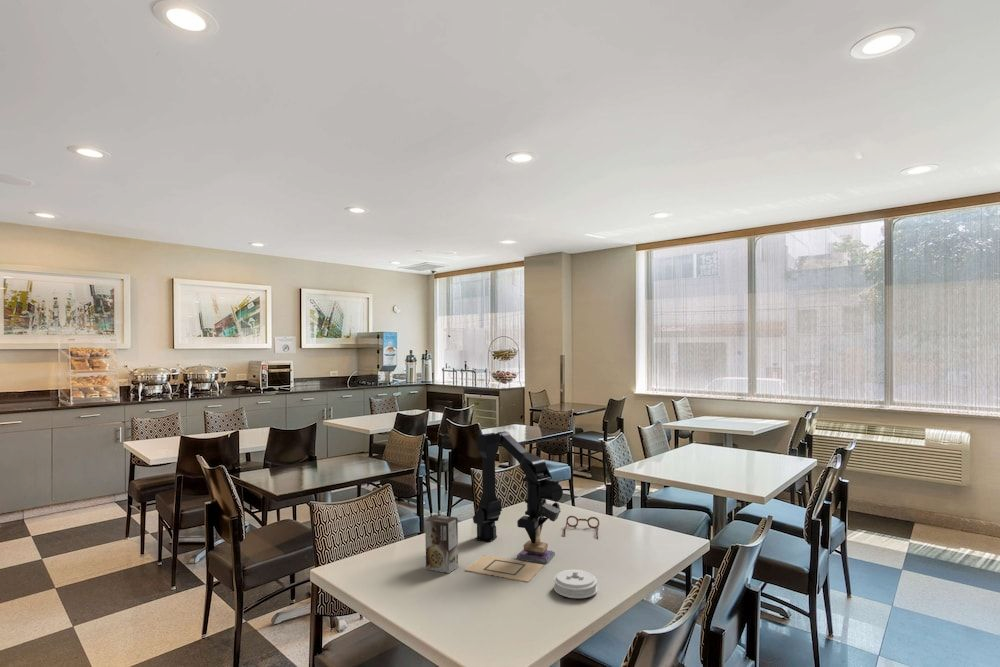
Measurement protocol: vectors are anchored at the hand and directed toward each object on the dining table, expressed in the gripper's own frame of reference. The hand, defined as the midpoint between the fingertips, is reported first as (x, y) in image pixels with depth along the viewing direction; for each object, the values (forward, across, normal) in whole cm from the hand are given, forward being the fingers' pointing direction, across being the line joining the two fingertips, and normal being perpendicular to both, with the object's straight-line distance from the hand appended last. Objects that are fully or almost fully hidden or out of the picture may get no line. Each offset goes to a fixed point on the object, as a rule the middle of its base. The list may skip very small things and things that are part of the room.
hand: (535, 541), depth 183 cm
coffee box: (+6, -21, +25) cm, 33 cm away
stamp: (+3, 0, 0) cm, 3 cm away
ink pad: (+5, 0, 0) cm, 5 cm away
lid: (+6, -20, -20) cm, 29 cm away
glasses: (+6, +31, -8) cm, 33 cm away
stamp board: (+5, -13, +6) cm, 15 cm away
